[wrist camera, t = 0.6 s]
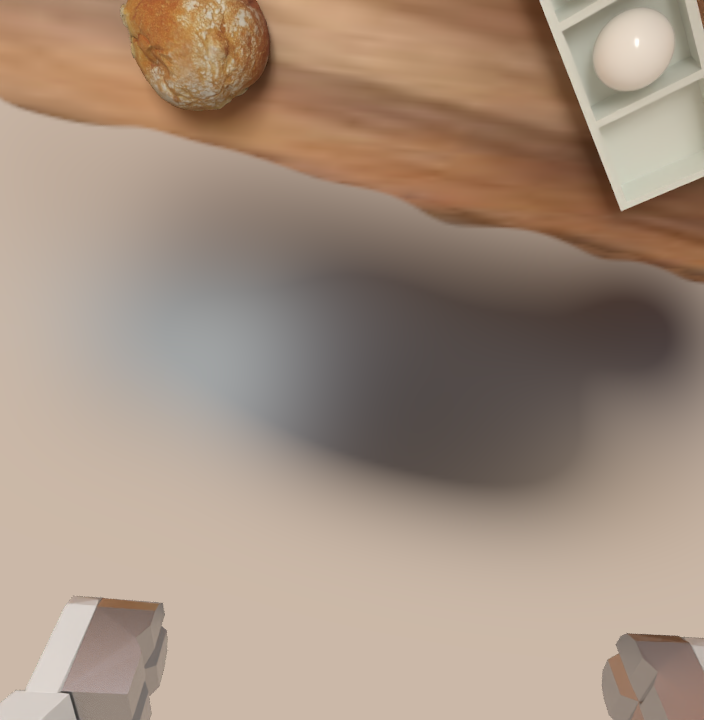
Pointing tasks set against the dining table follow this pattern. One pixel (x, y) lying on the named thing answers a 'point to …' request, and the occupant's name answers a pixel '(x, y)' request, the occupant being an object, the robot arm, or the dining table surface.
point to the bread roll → (198, 48)
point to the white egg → (633, 49)
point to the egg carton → (638, 99)
